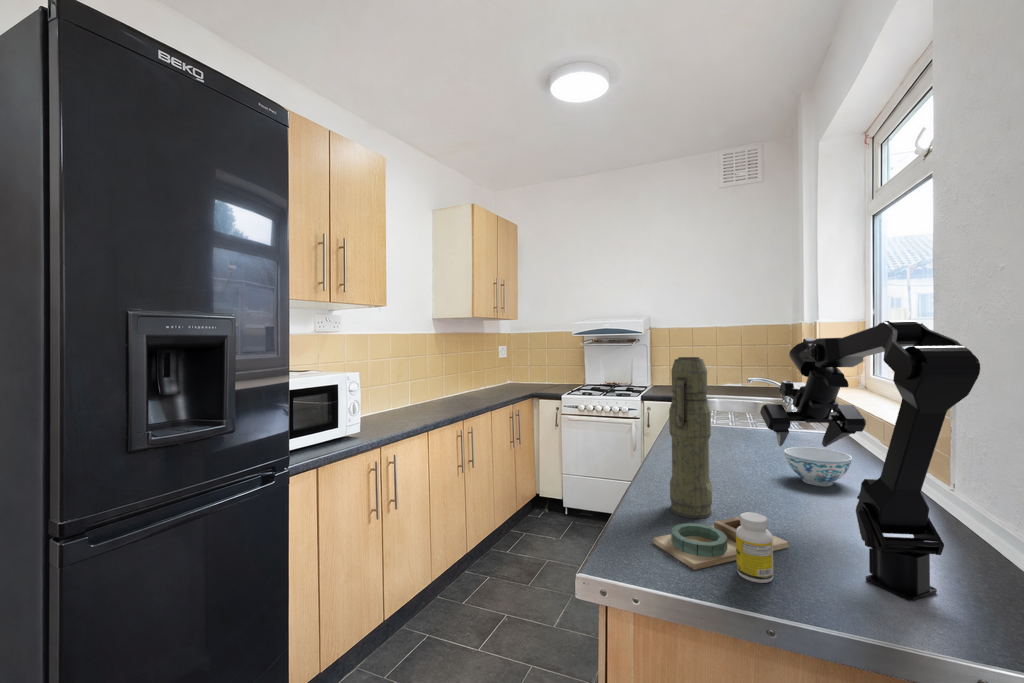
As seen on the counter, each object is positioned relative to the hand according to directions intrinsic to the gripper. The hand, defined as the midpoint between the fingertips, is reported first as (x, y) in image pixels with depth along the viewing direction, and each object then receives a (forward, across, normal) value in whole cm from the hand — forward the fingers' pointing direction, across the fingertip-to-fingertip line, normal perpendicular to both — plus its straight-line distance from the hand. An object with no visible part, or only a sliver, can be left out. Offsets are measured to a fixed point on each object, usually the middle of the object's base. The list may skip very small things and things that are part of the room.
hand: (801, 445), depth 102 cm
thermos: (+11, +25, +10) cm, 29 cm away
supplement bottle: (-4, +21, +34) cm, 40 cm away
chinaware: (+24, -14, -10) cm, 30 cm away
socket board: (+2, +23, +24) cm, 34 cm away
